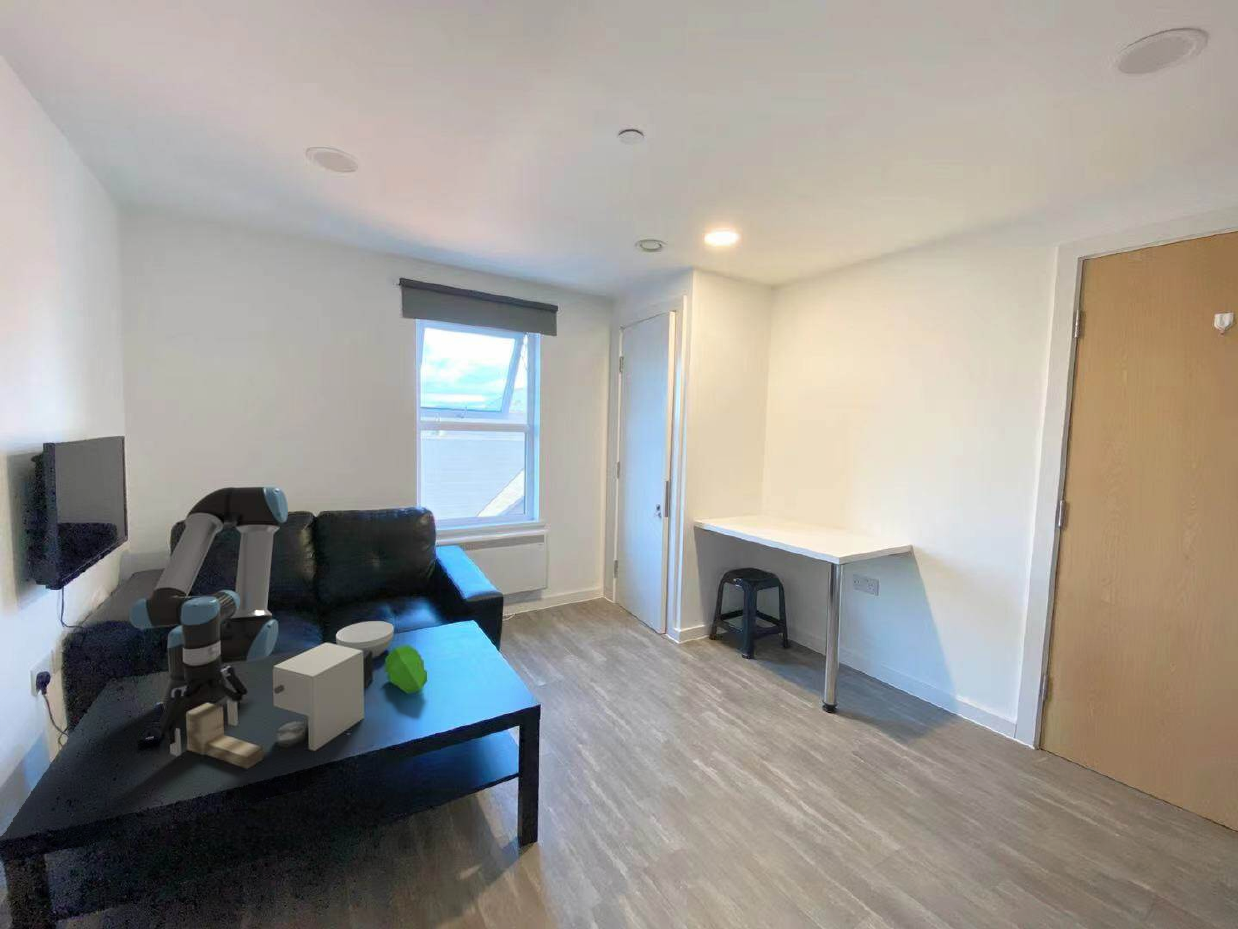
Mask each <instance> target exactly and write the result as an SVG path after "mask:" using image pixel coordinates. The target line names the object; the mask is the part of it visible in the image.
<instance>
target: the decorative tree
mask: <svg viewBox="0 0 1238 929" xmlns="http://www.w3.org/2000/svg"><path fill="white" fill-rule="evenodd" d="M384 660H385V662H384V665H385V666H384V668H385V670H384V672H385V673H387V677H388V678H389V682H390V683H392V684H393V685H394V686H396V687H397V688H398V689H400V690H402V691H403V692H405V693H406V694H408V695H409V694H413V693H418V692H420V691H422V690H421V689H422V688H423V687H424V686H425V684H427V683H428V671H427V670H426V669H425V664H424V662H425V661H424V659H422V655H420V654H419V651H418V650H417V649H415V648H413V646H411V645H410V644H408V645H402V646H397V647H394V649H392V651H391V652H390V653H389V654H388V655H387V656H386V657H385V659H384Z"/></svg>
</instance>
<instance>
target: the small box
mask: <svg viewBox="0 0 1238 929" xmlns="http://www.w3.org/2000/svg"><path fill="white" fill-rule="evenodd" d="M362 651H363V676H364V690H365V689H366V688H367V687H368V686H369V685H370V684H371V683H372V681H373V680H374V679H373V675H374V674H373V659H372V650H362Z"/></svg>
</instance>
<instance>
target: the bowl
mask: <svg viewBox="0 0 1238 929" xmlns="http://www.w3.org/2000/svg"><path fill="white" fill-rule="evenodd" d="M393 637H394V626H393V624H392V623H389V622H386V621H379V620H378V621H377V620H376V621H375V620H374V621H373V620H371V621H361V622H358V623H357V622H356V623H354V624H349V625H348V626H345V627H342V628H341V629H339V630H338V631H337V633H336V634H335V641H336V645H339V646H344V647H348V648H353V649H357V650H372V658H374V657H376V656H378V657H380V656H381V655H380V654H382V653H384V652H385V651H386V650H387V649H388V647H389V646H390V644H391V643H392V641H393ZM376 658H377V657H376ZM374 659H375V658H374Z"/></svg>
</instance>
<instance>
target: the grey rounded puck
mask: <svg viewBox="0 0 1238 929" xmlns="http://www.w3.org/2000/svg"><path fill="white" fill-rule="evenodd" d="M306 737H307V734H306V723H305V722H303V721H293V722H289V723H286V724H284V725H282V726H281V727H279V728H278V729H277V731H276V742H277V745H278V746H280V747H290V746H294V745H296V744H299V743H300V742H302V741H303V740H304V739H305V738H306Z"/></svg>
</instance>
